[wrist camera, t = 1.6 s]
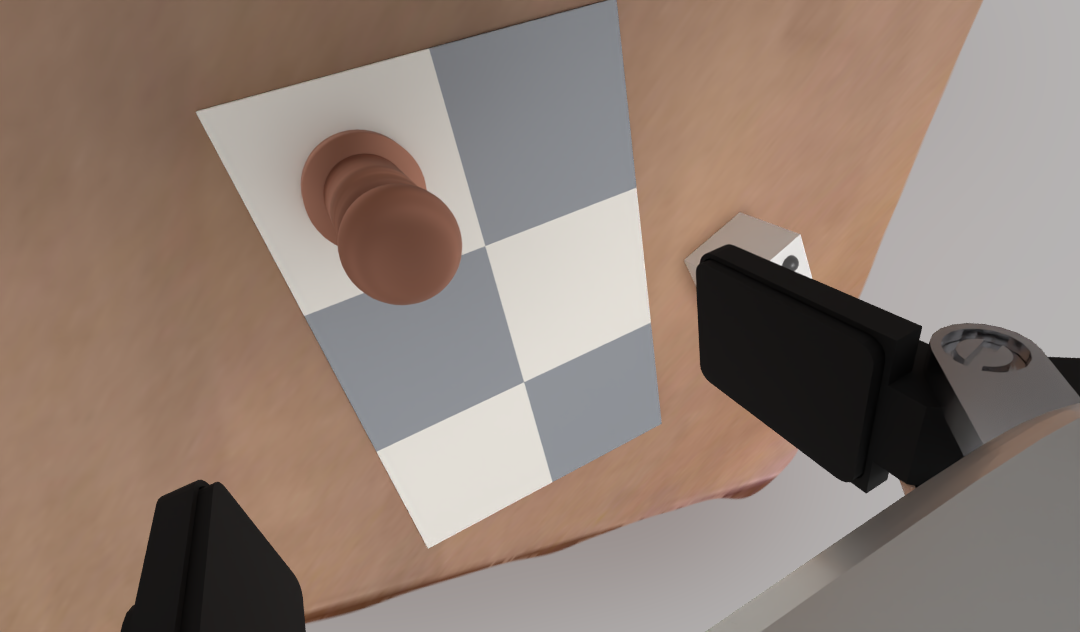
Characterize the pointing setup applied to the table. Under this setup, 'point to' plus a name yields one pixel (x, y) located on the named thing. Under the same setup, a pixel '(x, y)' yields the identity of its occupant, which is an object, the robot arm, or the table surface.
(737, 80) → the table surface
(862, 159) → the table surface
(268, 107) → the board
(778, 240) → the die
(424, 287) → the pawn
